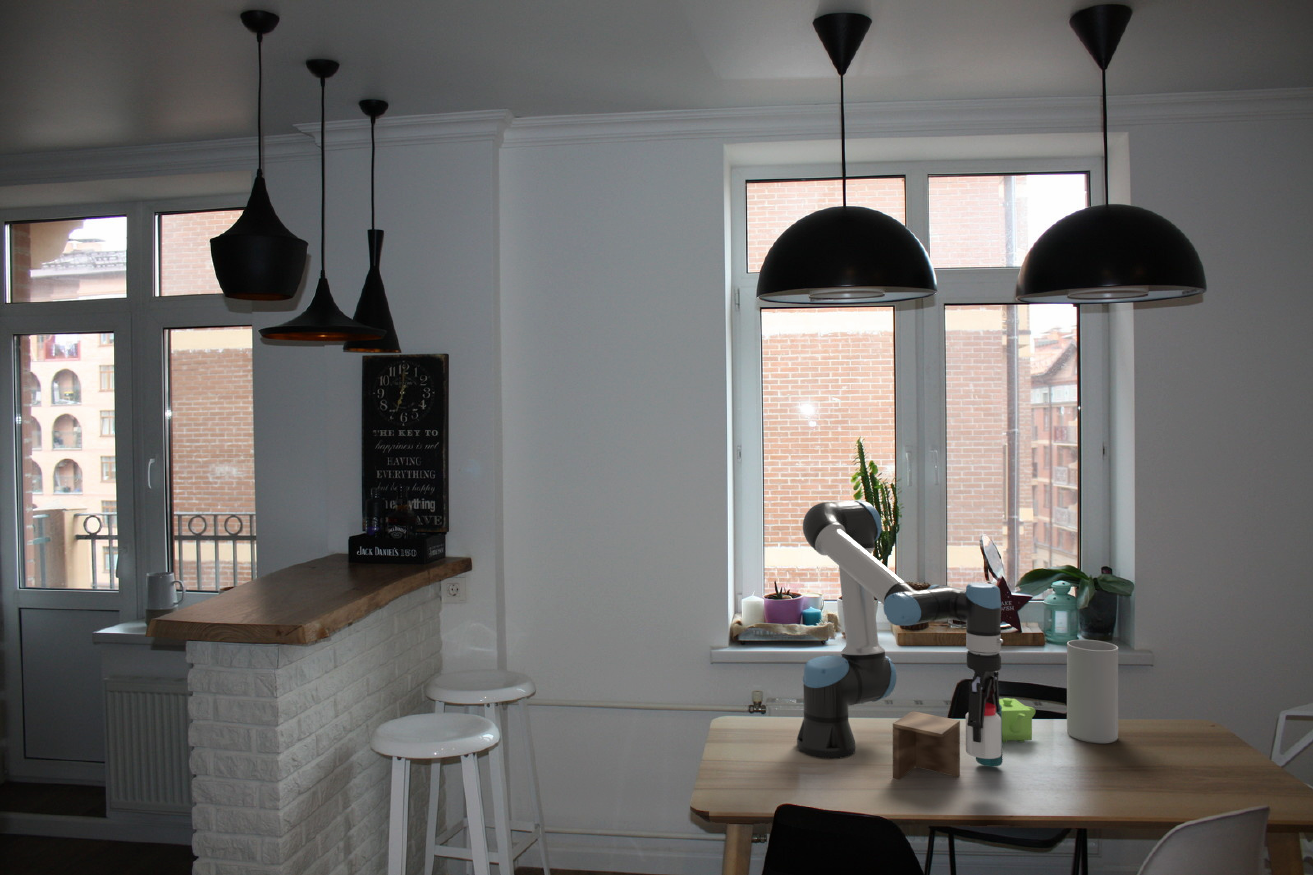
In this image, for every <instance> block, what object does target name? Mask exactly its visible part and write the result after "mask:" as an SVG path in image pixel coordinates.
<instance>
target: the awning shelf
mask: <svg viewBox="0 0 1313 875" xmlns="http://www.w3.org/2000/svg"><path fill="white" fill-rule="evenodd" d="M960 749H961V720H958V719H955V718H949V717H944V716H939V715H934V714H929V713H924V712H919V711H914V710H912V711H910V712H908V713H907V714H906V715H903V716H902V717H901V718H899V719H897V720H895V722H893V723H892V779H893V780H897V781H900V780H901V779H902V778H903V777H904V776H906V775H907V774H909V773H910V772H911V771H912V770H914V769H915V768H919V769H924V770H926V771H932V772H935V773H936V772H937V773H940V774H944V775H948V776H951V777H955V778H958V777H959V776H960V775H961V770H960V769H961V750H960Z"/></svg>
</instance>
